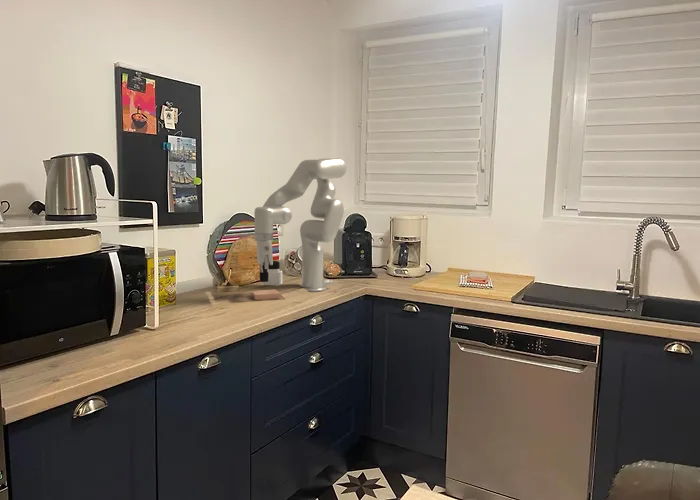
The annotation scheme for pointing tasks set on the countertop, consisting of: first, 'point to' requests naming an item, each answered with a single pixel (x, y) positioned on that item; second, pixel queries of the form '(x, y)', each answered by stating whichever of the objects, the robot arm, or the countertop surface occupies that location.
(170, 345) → the countertop surface
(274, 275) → the medicine bottle
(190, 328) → the countertop surface
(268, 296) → the tile
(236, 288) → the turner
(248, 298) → the board
